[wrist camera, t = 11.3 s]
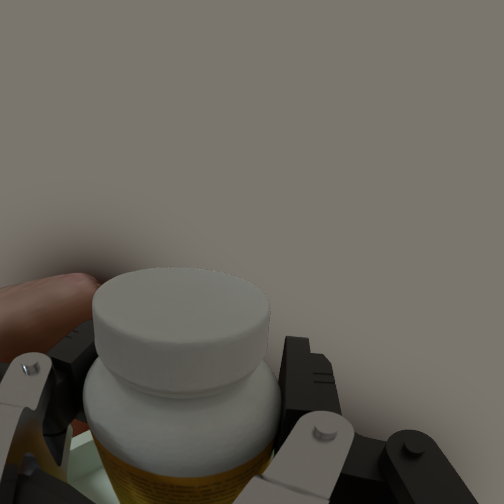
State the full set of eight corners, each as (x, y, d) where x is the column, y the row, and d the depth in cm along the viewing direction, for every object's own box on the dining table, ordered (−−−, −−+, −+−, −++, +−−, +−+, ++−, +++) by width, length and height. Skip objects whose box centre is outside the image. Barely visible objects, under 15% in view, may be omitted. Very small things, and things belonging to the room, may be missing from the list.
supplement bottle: (116, 465, 11) (75, 259, 8) (228, 450, 13) (244, 255, 10) (140, 567, 6) (39, 370, 3) (279, 538, 8) (354, 334, 6)
